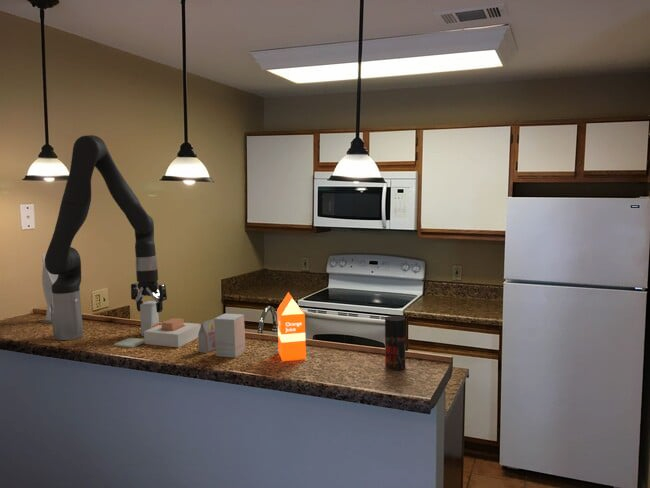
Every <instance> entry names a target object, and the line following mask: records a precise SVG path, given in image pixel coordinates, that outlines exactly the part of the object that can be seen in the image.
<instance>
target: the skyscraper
mask: <svg viewBox="0 0 650 488" xmlns="http://www.w3.org/2000/svg"><path fill="white" fill-rule="evenodd" d="M45 256H46V254H45V253H43V254H42V257H41V258H42V273H41V282H42V289H43V290H42V291H43V295H44V298H45V301H46V304H47V306H46V307H47V308H46V314H45V320H42V321H41V323H42V324H49V325H52V312H54V311H53V299H52V285H53V283H54V282H55V281H56V280H57V278H58V275H54V274H51V273H49V272H48V271H47V269H46V267H45Z"/></svg>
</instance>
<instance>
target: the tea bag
mask: <svg viewBox="0 0 650 488" xmlns="http://www.w3.org/2000/svg"><path fill="white" fill-rule="evenodd" d="M214 319H215V318H213V319H210V320H207V321H203V322H201V323H200V324H201V327H200V330H199V333H198V338H197V339H198V340H197V341H198V351H199V353H203V354H208V353H212V352H214V351H215V352H216V345H215V325H214Z"/></svg>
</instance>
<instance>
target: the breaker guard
mask: <svg viewBox="0 0 650 488" xmlns="http://www.w3.org/2000/svg"><path fill="white" fill-rule="evenodd" d="M200 327H201V323H192V322H184V327H182V328H179V329H177V330H175V331H165V330H162V325H161V324H159V325H158V326H156V327H153V328H151V329H148V330H146V331H144V336H143V339H144V340H145V343H144V345H150V346H151V345H153V346H162V347H163V346H164V347H171V348H173V347H174V348H180V347H183V346H184V345H186V344H187V343H190V342H192V341H194V340H196V339H198V333H199V330H200Z"/></svg>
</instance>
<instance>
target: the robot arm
mask: <svg viewBox="0 0 650 488" xmlns="http://www.w3.org/2000/svg"><path fill="white" fill-rule="evenodd" d="M71 153H72V155H71V161H70V170H69V174H68V177H67V181H66V183H65V188H64V191H63V195H62V198H61V203H60V207H59V209H58V216H57V220H56V223H55V227H54V231H53V234H52V236H51V237H52V238H51V239H50V242H49V245H48V248H47V250H46V254H45V267H46V269H47V271H48V272H49V273H51V274H54V275H58V278H57V280H56V281H55V282H54V283H53V285H52V299H53V311H54V312H52V324H51V325H52V334H53V335H52V337H53V339H55V340H57V341H68V340H69V341H70V340H75V339H79V338H81V337H83V335H84V331H83V327H84V326H83V315H82V302H81V291H80V287H81V283H82V260H81V255H80V254H79V251H78V250H77V249H76V248H74V247H71V246H72V242H73V240H74V238H75V236H76V235H77V233H78V232H79V231H80V229H81V227H83V225H84V223H85V222H86V220H87V217H88V214H89V210H90V206H91V202H92V177H93V173H94V170H95V169H97V171H98V172H99V173H100V175H101V177H102V178H103V181H104V182H105V186H106V187H107V190H108V191H109V193H110V195H111V197H112V199H113V200H114V202H115V203H116V205H117V206H118V207H119V209H120V210H121V211H122V213H123V215H125V217H126V219H127V220H128V222H129V224H130V225H131V227H132V229H133V230H134V236H135V243H134V252H135V274H136V282H134V283H131V284H130V299H131V300H134V301H135V302H136V309H137V312H140V304H142V303H144V302H143V299H144V297H151V298H152V299H153V300H154V301H156V302H157V303H156V310H157V313H158V314H159V313H162V311H163V310H164V309H163V308H164V307H163V306H164V305H163V302H164V301H166V300H168V297H167V295H168V294H167V289H166V284H165V283H162V284H159V283H158V280H159V272H158V261H157V253H156V244H155V225H154V224H155V223H154V222H155V221H154V219H153V218H152V216H150V214H148V213H147V211H146V210H145V208H144V207H143V206H142V204H141V201H140V200H139V198H138V197H137V195H136V194H135V192H134V191H133V189H132V188H131V187H130V185H129V184H128V182H127V181H126V179H125V178H124V177H123V174H122V173H121V172H120V170H119V168H118V167H117V165H116V164H115V161H114V160H113V158H112V155H111V154H110V152H109V149H108V147H107V145H106V143H105V141H104V140H103V139H102V138H101V137H99V136H97V135H93V134H92V135H91V134H90V135H82V136H80V137H78V138H77V139H76V140H75V142H74V143H73V147H72V152H71Z"/></svg>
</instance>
